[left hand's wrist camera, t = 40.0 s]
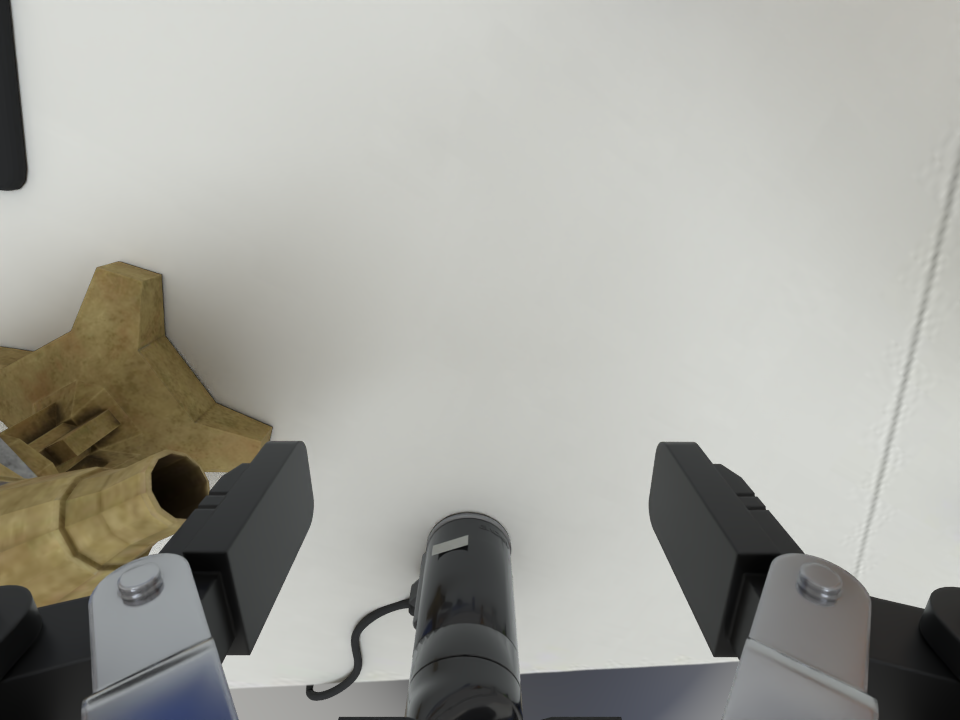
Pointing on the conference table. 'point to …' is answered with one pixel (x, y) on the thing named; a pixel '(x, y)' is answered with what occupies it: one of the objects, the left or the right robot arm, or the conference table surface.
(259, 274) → the conference table surface
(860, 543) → the conference table surface
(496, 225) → the conference table surface
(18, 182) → the keyboard
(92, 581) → the telescope
